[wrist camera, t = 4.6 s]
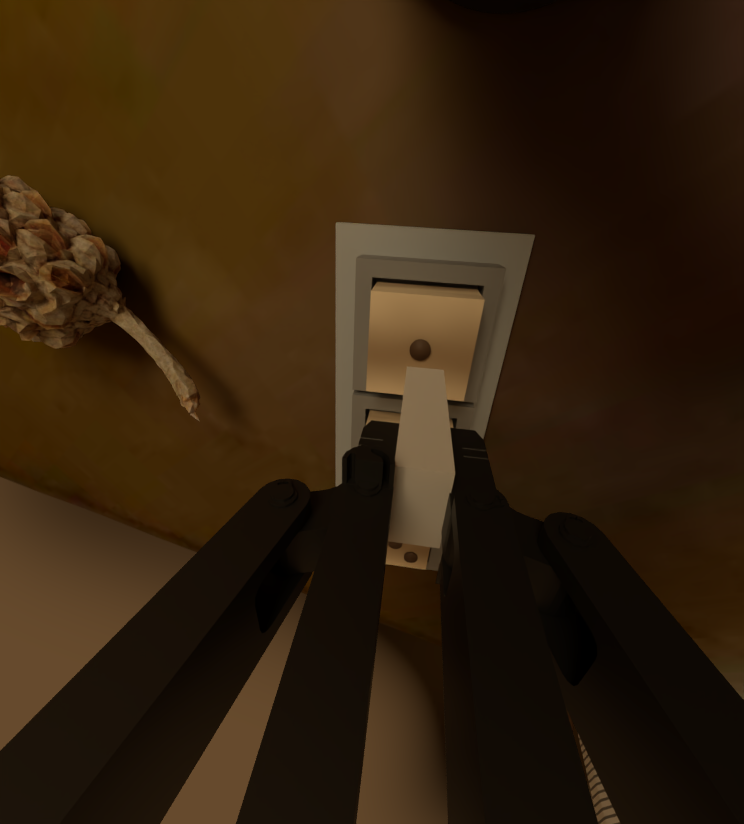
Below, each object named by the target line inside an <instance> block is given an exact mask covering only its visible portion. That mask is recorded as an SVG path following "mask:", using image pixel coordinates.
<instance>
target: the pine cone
mask: <svg viewBox="0 0 744 824" xmlns="http://www.w3.org/2000/svg"><path fill="white" fill-rule="evenodd" d="M120 264H121V263H120V260H119V257H118V254H117V253H116V251H115V250H114V249H112V248H110V247H109V246H107V245H105V244H104V243H103V241H102V239H101V238H99V237H95V236H92V234H91V230H90V228H89V227H88V226H87V224H86V223H85V221H84V220H80V219H78V218H76V217H75V216H74V215H72V214H70V213H66V212H65V211H64V210H63V209H58V208H54V207H52V208H49V206H48V205H47V204H46V202H45V201H44V200H43V198H42V197H41V196H40V194H39V193H38V192H37V191H35V190H34V189H32V188H31V187H29V186H28V185H27V184H26V183H24V182H23V181H22V180H21V179H20V178H19V177H15V176H6V177H4V178H2V179H0V325H3V326H5V327H6V328H7V327H10V328H11V329H13V330H14V331H16V332H17V333H19V334H20V337H21V340H27V341H30V340H31V339H32V340H33V341H34V342H37V341H42V342H43V343H45V344H46V345H48V346H51V347H53V348H56V349H58V348H68V347H72V346H76V344H77V342H78V341H79V339H80V338H82V337H83V335H84V334H86V333H89V332H91V331H92V330H93V329H94V327H98V326H101V325H103V324H104V323H108V322H111V321H112V322H114V323H115V324H117V325H118V326H120V327H121V328H122V329H124V330H125V331H126V332H127V333H129V334H130V335H131V336H132V337H133V338H135V339H136V340H137V341H138V342H139V344H140V345H141V346H142V347H143V348H144V349H145V351H146V352H147V353H148V354H149V355H150V356H151V357H152V358H153V359H154V360H155V362H156V363H157V365H158V366H159V367H160V368H161V369H162V371H163V372H164V374H165V375H166V377H167V378H168V380H169V381H170V383H171V384H172V386H173V388H174V390H175V392H176V394H177V396H178V397H179V399H180V402H181V405H182V406H183V407H185V408H186V409H187V411H188V412H189V413H190V414H191V415H192V416H193V417H194V418H196V419H197V420H198V421H199V419H198V417H197V415H196V412H195V411H196V410H197V408H198V407H199V405H200V403H199V399H200V395H199V392H198V390H197V388H196V386H195V384H194V382H193V380H192V378H191V377H190V376H189V374H188V373H187V372H186V370H185V369H184V368H183V367H182V365H181V364H180V363H179V362H178V360H177V359H176V358H175V357H174V356H173V355H172V354H171V353H170V352H169V351H168V350H167V349H166V347H165V346H164V345H163V343H162V342H161V341H160V340H159V339H158V338H157V337H156V336H155V335H154V334H153V333H152V332H151V331H150V330H149V329H148V328H147V327H146V326H145V324H144V323H143V322H142V321H141V320H140V319H139V318H138V317H136V316H135V315H134V314H133V312H132V311H131V310H130V309H128V308H127V307H126V305H125V302H126V297H124V298H122V292H121V290H120V289H119V288H118V286H117V281H116V277H117V274H118V272H119V271H120V270H121V267H120Z"/></svg>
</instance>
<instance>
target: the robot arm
mask: <svg viewBox="0 0 744 824" xmlns="http://www.w3.org/2000/svg"><path fill="white" fill-rule="evenodd" d="M450 1H452V2H454V3H456V4H459V5H461V6H464V7H466V8H469V9H473V10H476V11H481V12H487V13H515V12H522V11H527V10H531V9H535V8H539V7H542V6H544V5H547V4H550V3H552V2H555V1H557V0H450ZM441 539H442V556H441V560H440V565H439V570H438V574H437V579H436V584H440V596H441V626H442V656H443V686H444V713H445V715H444V716H445V746H446V773H447V775H446V776H447V805H448V824H598V821H597V817H596V814H595V810H594V806H593V803H592V799H591V796H590V792H589V789H588V785H587V781H586V778H585V774H584V771H583V768H582V764H581V760H580V757H579V753H578V749H577V746H576V742H575V739H574V735H573V732H572V728H571V724H570V721H569V717H568V714H567V711H568V713H569V715H570V717H571V720H572V722H573V724H574V726H575V728H576V730H577V732H578V734H579V737H580V739H581V741H582V743H583V745H584V747H585V749H586V751H587V754H588V756H589V758H590V760H591V762H592V764H593V766H594V768H595V771H596V773H597V775H598V777H599V779H600V781H601V783H602V785H603V787H604V790H605V792H606V794H607V796H608V798H609V800H610V802H611V804H612V807H613V809H614V811H615V813H616V815H617V817H618V819H619V821H620V824H744V700H743V699H742V698H741V697H740V695H739V694H738V693H737V692H736V691H735V689H734V688H733V687H732V686H731V685H730V683H729V682H728V681H727V680H726V679H725V678H724V676H723V675H722V674H721V673H720V672H719V670H718V669H717V668H716V667H715V666H714V664H713V663H712V662H711V661H710V660H709V659H708V657H707V656H706V655H705V654H704V653H703V651H702V650H701V649H700V648H699V647H698V645H697V644H696V643H695V642H694V641H693V640H692V638H691V637H690V636H689V635H688V634H687V632H686V631H685V630H684V629H683V628H682V626H681V625H680V624H679V623H678V622H677V620H676V619H675V618H674V617H673V616H672V615H671V613H670V612H669V611H668V610H667V609H666V607H665V606H664V605H663V604H662V603H661V601H660V600H659V599H658V598H657V597H656V596H655V594H654V593H653V592H652V591H651V590H650V588H649V587H648V586H647V585H646V584H645V582H644V581H643V580H642V579H641V578H640V576H639V575H638V574H637V573H636V572H635V571H634V569H633V568H632V567H631V566H630V565H629V563H628V562H627V561H626V560H625V559H624V557H623V556H622V555H621V554H620V553H619V552H618V550H617V549H616V548H615V547H614V546H613V544H612V543H611V542H610V541H609V540H608V538H607V537H606V536H605V535H604V534H603V533H602V532H601V531H600V530H599V529H598V528H597V527H596V526H595V525H594V524H592V523H591V522H589V521H587V520H586V519H584V518H582V517H579V516H576V515H574V514H571V513H562V512H557V513H553V514H550V515H549V516H548V517H547V518H546V519H545V520H544V522H542V521H539V520H537V519H534V518H531V517H528V516H526V515H523V514H521V513H519V512H516V511H515V510H513V509H512V508H510V507H509V504H508V502H507V500H506V498H505V497H504V496H503V495H502V494H501V493H500V492H499V491H498V490H496V487H495V483H494V479H493V475H492V471H491V467H490V463H489V460H488V455H487V452H486V448H485V444H484V440H483V439H482V437H481V436H480V435H479V434H478V433H477V432H476V431H475V430H466V429H457V428H450V421H449V412H448V403H447V394H446V385H445V376H444V370H440V369H429V368H419V367H408V366H407V370H406V377H405V385H404V393H403V401H402V408H401V416H400V423H392V422H383V421H374V420H371V421H370V422H369V423H368V424H367V425H366V426H364V427H363V430H362V434H361V438H360V440H359V444H358V446H357V447H353V448H351V449H350V450H348V451H346V452H345V454H344V455H343V457H342V484H340V485H338V486H337V487H334V488H331V489H327V490H321V491H312V492H310V490H309V489H308V487H307V486H306V485H305V484H304V483H302V482H300V481H298V480H294V479H279V480H276V481H273V482H270V483H268V484H266V485H265V486H264V487H262V488H261V489H260V490H259V491H258V492H257V493H256V494H255V495H254V496H253V497H252V498H251V499H250V500H249V501H248V502H247V503H246V504H245V505H244V506H243V507H242V508H241V509H240V510H239V511H238V512H237V513H236V514H235V515H234V516H233V517H232V518H231V519H230V520H229V521H228V522H227V523H226V524H225V525H224V526H223V527H222V528H221V529H220V530H219V531H218V532H217V533H216V534H215V535H214V536H213V537H212V538H211V539H210V540H209V541H208V542H207V543H206V544H205V545H204V546H203V547H202V548H201V549H200V550H199V551H198V552H197V553H196V554H195V555H194V556H193V557H192V558H191V559H190V560H189V561H188V562H187V563H186V564H185V565H184V566H183V567H182V569H180V570H179V572H177V573H176V574H175V575H174V576H173V577H172V578H171V579H170V580H169V581H168V582H167V583H166V584H165V586H164V587H163V588H162V589H160V590H159V591H158V593H157V594H156V595H155V596H154V597H153V598H152V599H151V600H150V601H149V602H148V603H147V604H146V605H145V606H144V607H143V608H142V609H141V610H140V611H139V612H138V613H137V614H136V615H135V616H134V617H133V618H132V619H131V620H130V621H129V622H128V623H127V624H126V625H125V626H124V627H123V628H122V629H121V630H120V631H119V632H118V633H117V634H116V635H115V636H114V637H113V638H112V639H111V640H110V641H109V642H108V643H107V644H106V645H105V646H104V647H103V648H102V649H101V650H100V651H99V652H98V653H97V654H96V655H95V656H94V657H93V658H92V659H91V660H90V661H89V662H88V663H87V664H86V665H85V666H84V667H83V668H82V669H81V670H80V671H79V672H78V673H77V674H76V675H75V676H74V677H73V678H72V679H71V680H70V681H69V682H68V683H67V684H66V685H65V686H64V687H63V688H62V689H61V690H60V691H59V692H58V693H57V694H56V695H55V696H54V697H53V698H52V700H50V702H48V703H47V704H46V705H45V706H44V707H43V708H42V709H41V710H40V711H39V712H38V713H37V714H36V715H35V716H34V717H33V718H32V719H31V721H29V723H28V724H26V725H25V726H24V728H23V729H22V730H21V731H20V732H19V733H18V734H17V735H16V736H15V737H14V738H13V739H12V740H11V741H10V742H9V743H8V744H7V745H6V746H5V747H4V748H3V749H2V750H1V751H0V824H160V823H161V821H162V820H163V818H164V816H165V815H166V813H167V811H168V809H169V808H170V807H171V805H172V803H173V802H174V799H175V798H176V797H177V795H178V793H179V792H180V790H181V788H182V786H183V785H184V784H185V782H186V780H187V779H188V777H189V775H190V774H191V772H192V770H193V769H194V767H195V765H196V764H197V762H198V760H199V759H200V757H201V756H202V754H203V752H204V751H205V749H206V747H207V745H208V744H209V742H210V741H211V739H212V737H213V736H214V734H215V733H216V731H217V729H218V728H219V726H220V724H221V723H222V721H223V719H224V718H225V716H226V714H227V713H228V711H229V709H230V708H231V706H232V705H233V703H234V701H235V699H236V698H237V696H238V695H239V693H240V691H241V690H242V688H243V686H244V685H245V683H246V682H247V680H248V678H249V677H250V675H251V673H252V672H253V670H254V668H255V667H256V665H257V663H258V662H259V660H260V658H261V657H262V655H263V654H264V652H265V650H266V648H267V647H268V645H269V644H270V642H271V641H272V639H273V637H274V635H275V634H276V632H277V630H278V629H279V627H280V626H281V624H282V622H283V621H284V619H285V617H286V616H287V614H288V613H289V611H290V609H291V608H292V606H293V604H294V603H295V601H296V599H297V598H298V596H299V594H300V593H301V591H302V590H303V588H304V586H305V585H306V583H307V581H308V580H309V578H310V576H311V575H312V572H313V571H314V575H313V578H312V581H311V584H310V587H309V591H308V594H307V597H306V600H305V604H304V607H303V610H302V613H301V616H300V620H299V623H298V626H297V629H296V632H295V636H294V639H293V642H292V645H291V649H290V652H289V655H288V658H287V661H286V665H285V668H284V671H283V674H282V677H281V681H280V684H279V687H278V690H277V694H276V697H275V700H274V703H273V706H272V710H271V713H270V716H269V720H268V722H267V726H266V729H265V732H264V736H263V739H262V742H261V745H260V749H259V751H258V755H257V758H256V761H255V764H254V767H253V771H252V774H251V777H250V781H249V784H248V787H247V790H246V793H245V796H244V800H243V803H242V806H241V809H240V813H239V816H238V819H237V822H236V824H356V819H357V810H358V801H359V793H360V784H361V774H362V767H363V757H364V749H365V740H366V731H367V723H368V714H369V705H370V696H371V688H372V679H373V670H374V661H375V653H376V643H377V635H378V626H379V618H380V609H381V600H382V591H383V582H384V574H385V565H386V556H387V546H388V541H390V542H397V543H404V544H411V545H418V546H425V547H432V548H440V544H441ZM566 709H567V710H566Z"/></svg>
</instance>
